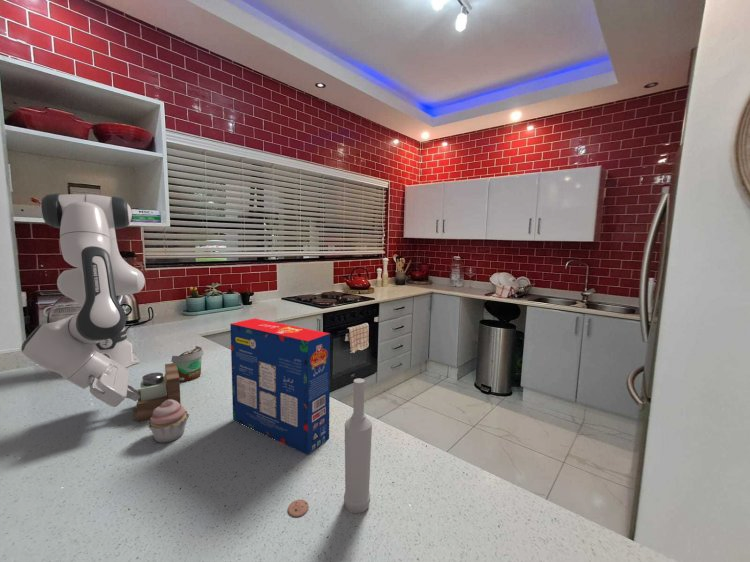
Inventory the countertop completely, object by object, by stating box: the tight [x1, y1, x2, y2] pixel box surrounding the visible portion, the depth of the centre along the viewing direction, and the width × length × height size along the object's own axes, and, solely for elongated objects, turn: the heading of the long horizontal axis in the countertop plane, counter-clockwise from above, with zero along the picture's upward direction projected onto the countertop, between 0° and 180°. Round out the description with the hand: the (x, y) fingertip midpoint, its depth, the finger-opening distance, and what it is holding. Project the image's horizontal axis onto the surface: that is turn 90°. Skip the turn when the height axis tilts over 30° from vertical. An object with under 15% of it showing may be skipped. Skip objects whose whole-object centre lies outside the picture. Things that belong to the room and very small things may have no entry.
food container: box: [171, 345, 205, 383], centre depth 121 cm, size 12×6×10 cm, turn 168°
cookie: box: [287, 499, 310, 518], centre depth 63 cm, size 4×4×1 cm
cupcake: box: [146, 399, 190, 444], centre depth 84 cm, size 9×9×10 cm
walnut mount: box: [133, 362, 182, 423], centre depth 98 cm, size 14×11×11 cm
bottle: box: [343, 377, 373, 514], centre depth 63 cm, size 5×5×25 cm
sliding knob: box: [139, 372, 167, 401], centre depth 97 cm, size 7×6×10 cm
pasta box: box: [230, 317, 331, 456], centre depth 88 cm, size 28×8×28 cm, turn 59°
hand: (138, 397), depth 96 cm, fingers closed, pressing on sliding knob
